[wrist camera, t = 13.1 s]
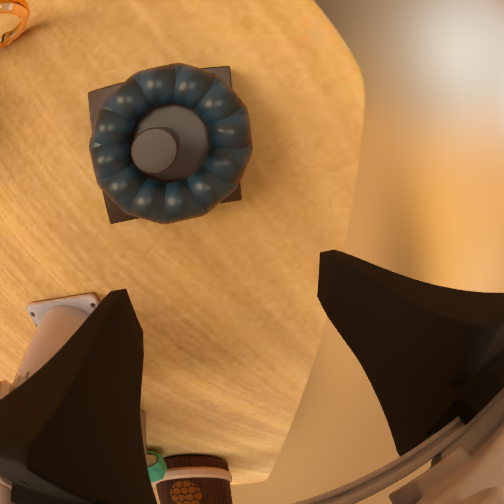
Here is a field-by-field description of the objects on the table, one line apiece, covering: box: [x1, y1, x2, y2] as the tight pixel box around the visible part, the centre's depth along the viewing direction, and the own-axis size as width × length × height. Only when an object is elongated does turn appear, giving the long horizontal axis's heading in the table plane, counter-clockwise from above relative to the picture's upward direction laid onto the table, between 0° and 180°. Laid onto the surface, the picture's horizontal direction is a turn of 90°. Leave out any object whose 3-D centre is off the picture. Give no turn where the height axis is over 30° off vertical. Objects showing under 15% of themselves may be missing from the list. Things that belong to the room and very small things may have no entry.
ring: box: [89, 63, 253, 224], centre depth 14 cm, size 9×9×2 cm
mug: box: [151, 456, 232, 504], centre depth 31 cm, size 20×15×15 cm
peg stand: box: [88, 66, 242, 224], centre depth 13 cm, size 9×9×7 cm
